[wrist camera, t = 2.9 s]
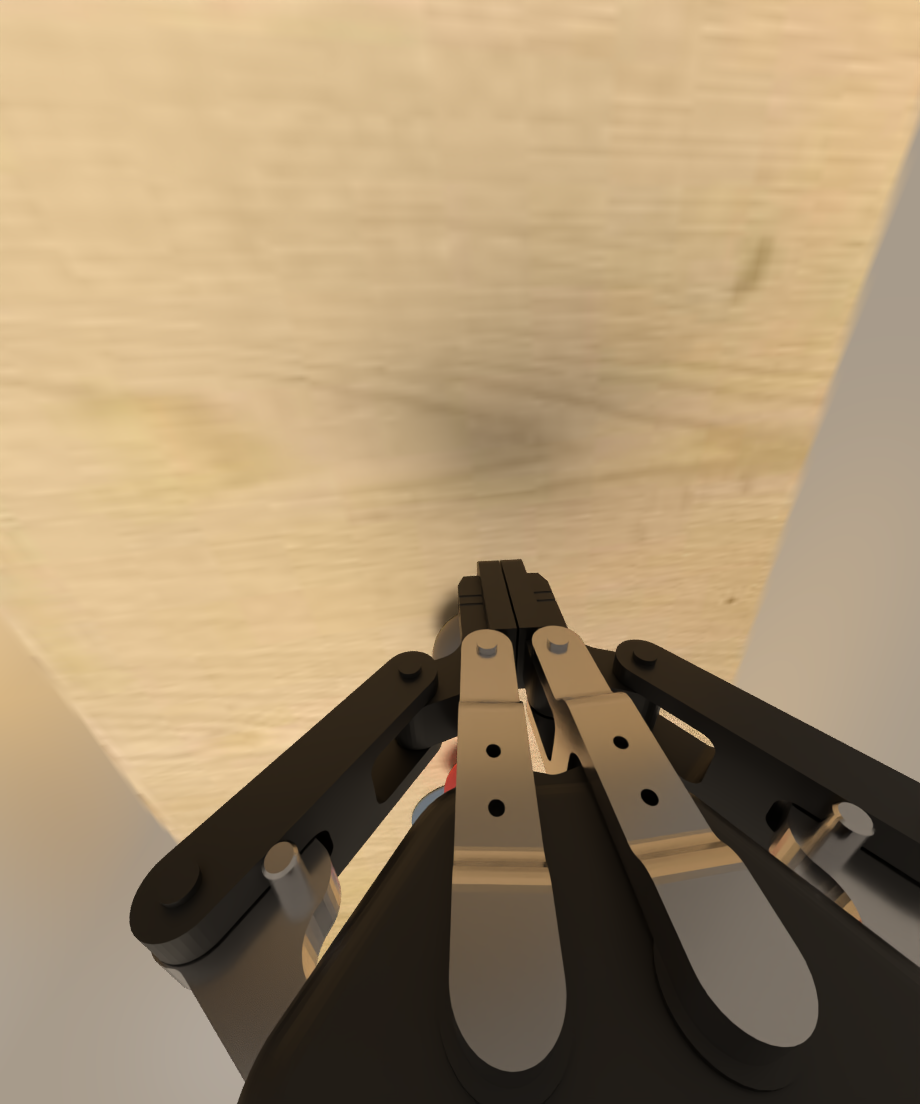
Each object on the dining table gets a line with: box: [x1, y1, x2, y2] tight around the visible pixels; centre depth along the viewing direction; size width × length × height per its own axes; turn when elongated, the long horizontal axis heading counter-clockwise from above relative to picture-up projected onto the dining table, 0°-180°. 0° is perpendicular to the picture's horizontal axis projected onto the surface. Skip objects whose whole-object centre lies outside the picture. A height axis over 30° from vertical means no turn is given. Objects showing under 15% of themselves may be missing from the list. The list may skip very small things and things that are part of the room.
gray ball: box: [432, 614, 461, 660], centre depth 24 cm, size 6×6×6 cm
